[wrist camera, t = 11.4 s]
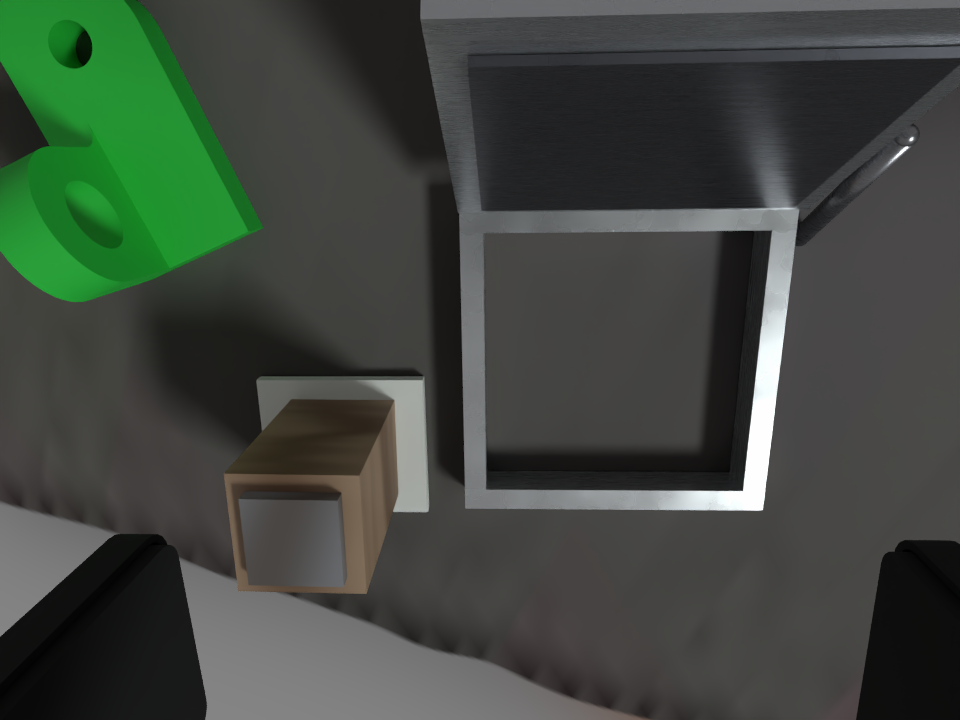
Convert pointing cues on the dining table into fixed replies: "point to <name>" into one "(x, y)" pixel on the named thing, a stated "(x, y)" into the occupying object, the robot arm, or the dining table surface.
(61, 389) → the dining table surface
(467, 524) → the dining table surface
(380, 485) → the block
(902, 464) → the dining table surface
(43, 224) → the mechanical part
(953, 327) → the dining table surface
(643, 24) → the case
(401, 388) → the mat
